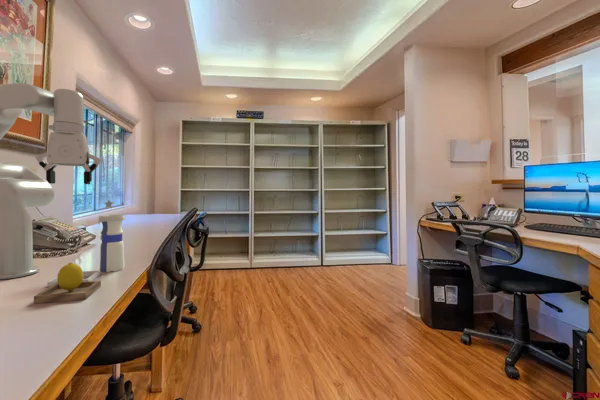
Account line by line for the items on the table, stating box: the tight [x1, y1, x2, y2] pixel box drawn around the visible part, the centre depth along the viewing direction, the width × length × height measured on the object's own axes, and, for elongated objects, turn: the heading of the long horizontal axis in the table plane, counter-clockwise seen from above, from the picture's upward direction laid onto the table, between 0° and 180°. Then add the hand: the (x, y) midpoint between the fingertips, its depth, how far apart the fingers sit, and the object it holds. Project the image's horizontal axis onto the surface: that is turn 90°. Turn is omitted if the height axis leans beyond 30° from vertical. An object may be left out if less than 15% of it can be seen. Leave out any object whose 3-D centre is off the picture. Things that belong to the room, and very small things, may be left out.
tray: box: [33, 279, 102, 305], centre depth 79 cm, size 11×11×2 cm
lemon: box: [56, 262, 84, 292], centre depth 80 cm, size 6×6×8 cm
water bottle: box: [97, 199, 126, 273], centre depth 104 cm, size 8×9×25 cm
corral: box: [46, 269, 101, 288], centre depth 92 cm, size 10×10×1 cm
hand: (69, 183), depth 94 cm, fingers open, 9 cm apart
